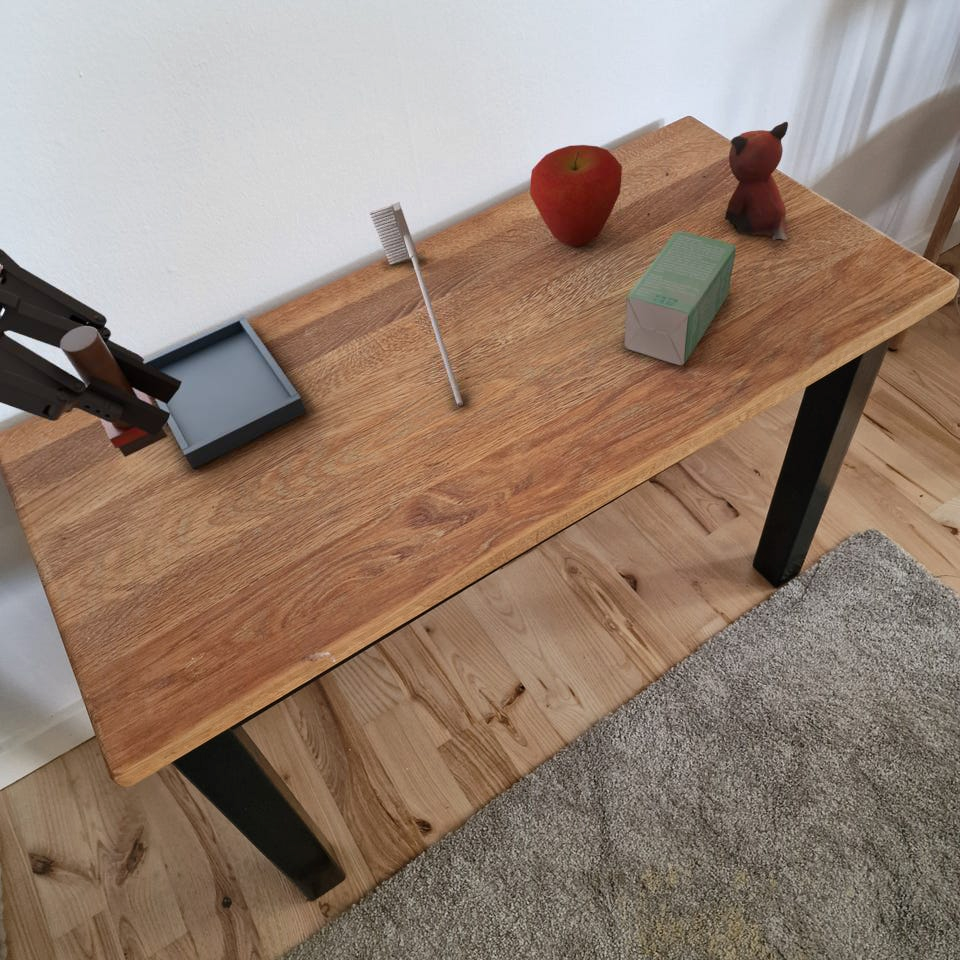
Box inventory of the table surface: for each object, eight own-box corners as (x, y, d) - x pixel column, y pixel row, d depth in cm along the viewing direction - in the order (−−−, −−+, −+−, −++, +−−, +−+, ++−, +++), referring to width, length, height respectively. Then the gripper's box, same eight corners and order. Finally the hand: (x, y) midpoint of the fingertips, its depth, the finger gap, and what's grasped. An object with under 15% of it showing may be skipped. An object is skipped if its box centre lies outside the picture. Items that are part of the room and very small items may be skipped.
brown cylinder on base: (170, 436, 73) (111, 338, 64) (123, 459, 72) (56, 362, 63) (142, 383, 78) (83, 284, 69) (97, 404, 77) (31, 306, 68)
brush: (440, 436, 94) (421, 391, 86) (389, 264, 107) (369, 211, 99) (472, 425, 94) (455, 379, 86) (417, 255, 107) (398, 201, 99)
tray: (306, 412, 92) (301, 397, 90) (192, 468, 88) (184, 455, 87) (248, 328, 102) (242, 314, 100) (144, 376, 98) (136, 362, 97)
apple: (602, 205, 110) (603, 119, 101) (632, 251, 104) (637, 162, 94) (523, 226, 109) (516, 140, 100) (548, 273, 103) (544, 186, 93)
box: (730, 294, 97) (738, 240, 91) (684, 368, 90) (690, 315, 84) (671, 278, 100) (676, 225, 94) (622, 349, 93) (624, 296, 87)
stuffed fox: (762, 261, 100) (780, 171, 90) (704, 217, 106) (715, 128, 97) (812, 238, 101) (834, 147, 92) (752, 196, 108) (767, 108, 99)
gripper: (-102, 228, 67) (175, 366, 78) (-211, 368, 57) (124, 503, 68) (-83, 163, 62) (209, 320, 73) (-198, 303, 52) (160, 460, 63)
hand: (168, 408), depth 71 cm, fingers closed on brown cylinder on base, 3 cm apart
